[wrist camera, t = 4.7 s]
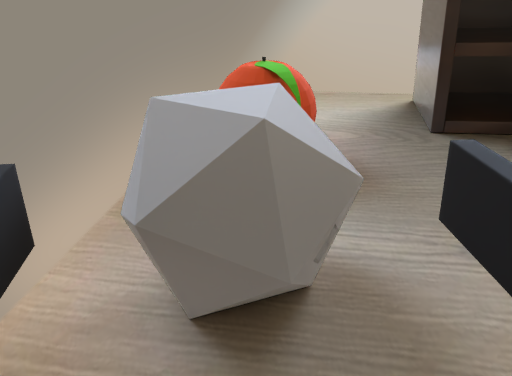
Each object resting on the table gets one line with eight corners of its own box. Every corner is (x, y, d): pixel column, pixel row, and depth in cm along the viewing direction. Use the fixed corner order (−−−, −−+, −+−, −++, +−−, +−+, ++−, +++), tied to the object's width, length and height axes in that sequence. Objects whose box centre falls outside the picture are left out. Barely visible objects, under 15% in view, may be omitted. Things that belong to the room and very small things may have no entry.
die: (341, 391, 16) (434, 115, 17) (72, 316, 13) (205, -12, 14) (253, 320, 24) (320, 135, 25) (74, 264, 21) (159, 57, 22)
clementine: (345, 170, 32) (351, 60, 29) (253, 193, 29) (249, 74, 26) (282, 139, 38) (282, 46, 36) (201, 155, 35) (194, 55, 33)
